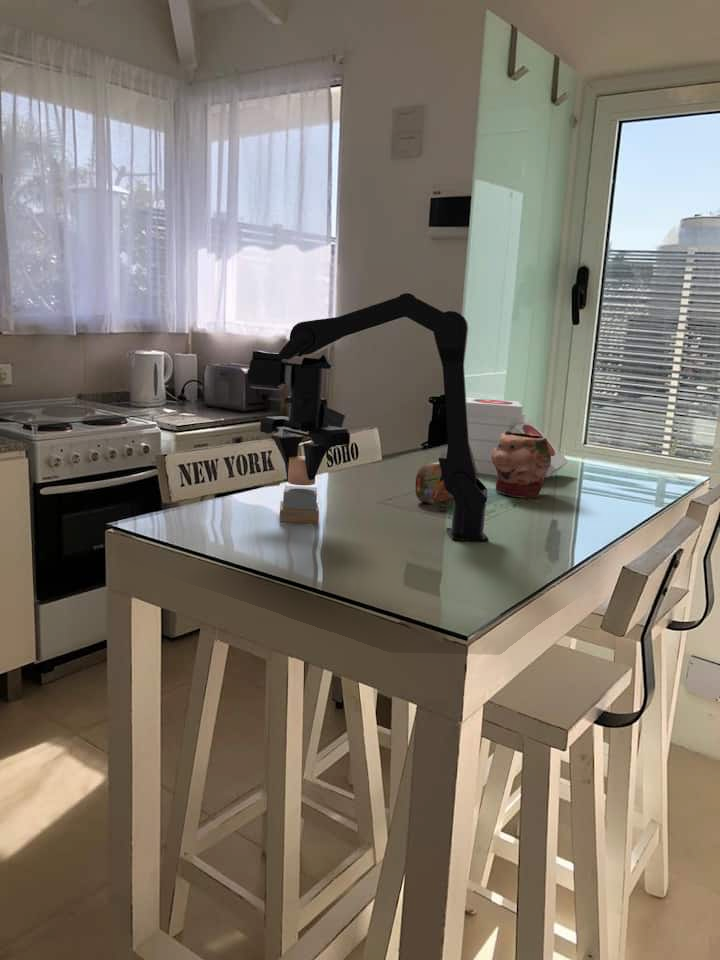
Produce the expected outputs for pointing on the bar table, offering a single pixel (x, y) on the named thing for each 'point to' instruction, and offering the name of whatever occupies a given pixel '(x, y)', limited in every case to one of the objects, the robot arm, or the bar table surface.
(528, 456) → the decorative planter
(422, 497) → the tin
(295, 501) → the slate block
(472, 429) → the pizza boxes
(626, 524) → the bar table surface
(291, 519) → the walnut block
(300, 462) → the peach rounded block
